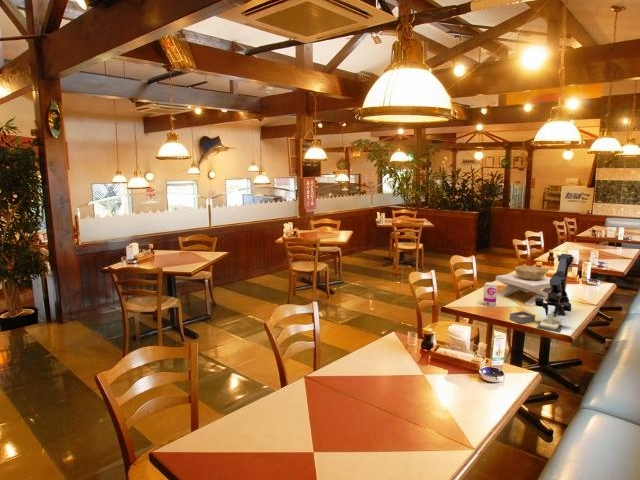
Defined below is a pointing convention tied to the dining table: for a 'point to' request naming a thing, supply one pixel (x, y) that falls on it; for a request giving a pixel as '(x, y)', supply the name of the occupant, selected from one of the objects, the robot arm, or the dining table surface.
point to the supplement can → (490, 294)
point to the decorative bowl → (526, 282)
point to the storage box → (522, 317)
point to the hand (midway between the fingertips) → (550, 316)
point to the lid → (550, 323)
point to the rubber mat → (550, 329)
